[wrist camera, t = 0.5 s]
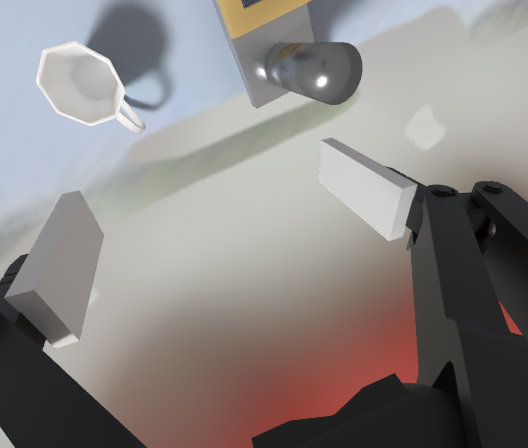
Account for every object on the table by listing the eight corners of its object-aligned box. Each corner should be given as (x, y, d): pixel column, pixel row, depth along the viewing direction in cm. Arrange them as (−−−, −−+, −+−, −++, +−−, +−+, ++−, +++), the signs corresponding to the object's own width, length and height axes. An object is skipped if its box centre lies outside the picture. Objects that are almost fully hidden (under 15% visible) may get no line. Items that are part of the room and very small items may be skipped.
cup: (88, 24, 28) (70, 19, 22) (163, 103, 34) (166, 117, 28) (44, 71, 29) (14, 79, 23) (125, 140, 35) (119, 161, 29)
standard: (176, -69, 27) (203, -191, 13) (256, -106, 27) (367, -266, 13) (245, 103, 38) (301, 140, 24) (301, 74, 38) (389, 93, 24)
